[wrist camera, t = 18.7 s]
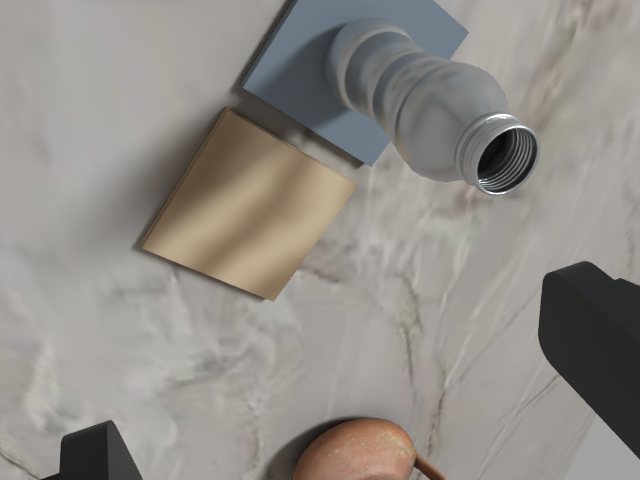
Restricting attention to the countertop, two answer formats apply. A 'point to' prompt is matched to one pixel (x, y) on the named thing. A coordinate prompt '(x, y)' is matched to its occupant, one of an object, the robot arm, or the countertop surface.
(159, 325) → the countertop surface
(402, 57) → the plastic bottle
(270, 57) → the slate mat
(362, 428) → the ceramic jug
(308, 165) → the oak mat
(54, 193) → the countertop surface
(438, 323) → the countertop surface
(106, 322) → the countertop surface
